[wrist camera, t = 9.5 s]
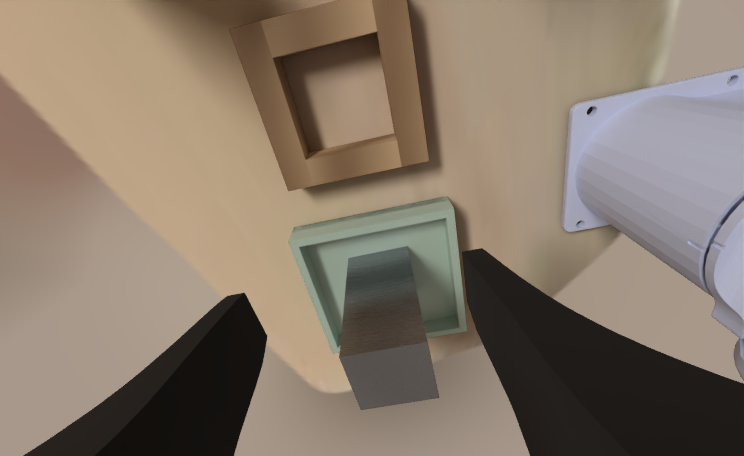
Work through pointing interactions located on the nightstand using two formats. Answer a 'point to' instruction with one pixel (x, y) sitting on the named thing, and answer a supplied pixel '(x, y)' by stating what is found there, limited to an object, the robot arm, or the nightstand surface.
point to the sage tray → (379, 233)
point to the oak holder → (276, 105)
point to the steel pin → (385, 332)
